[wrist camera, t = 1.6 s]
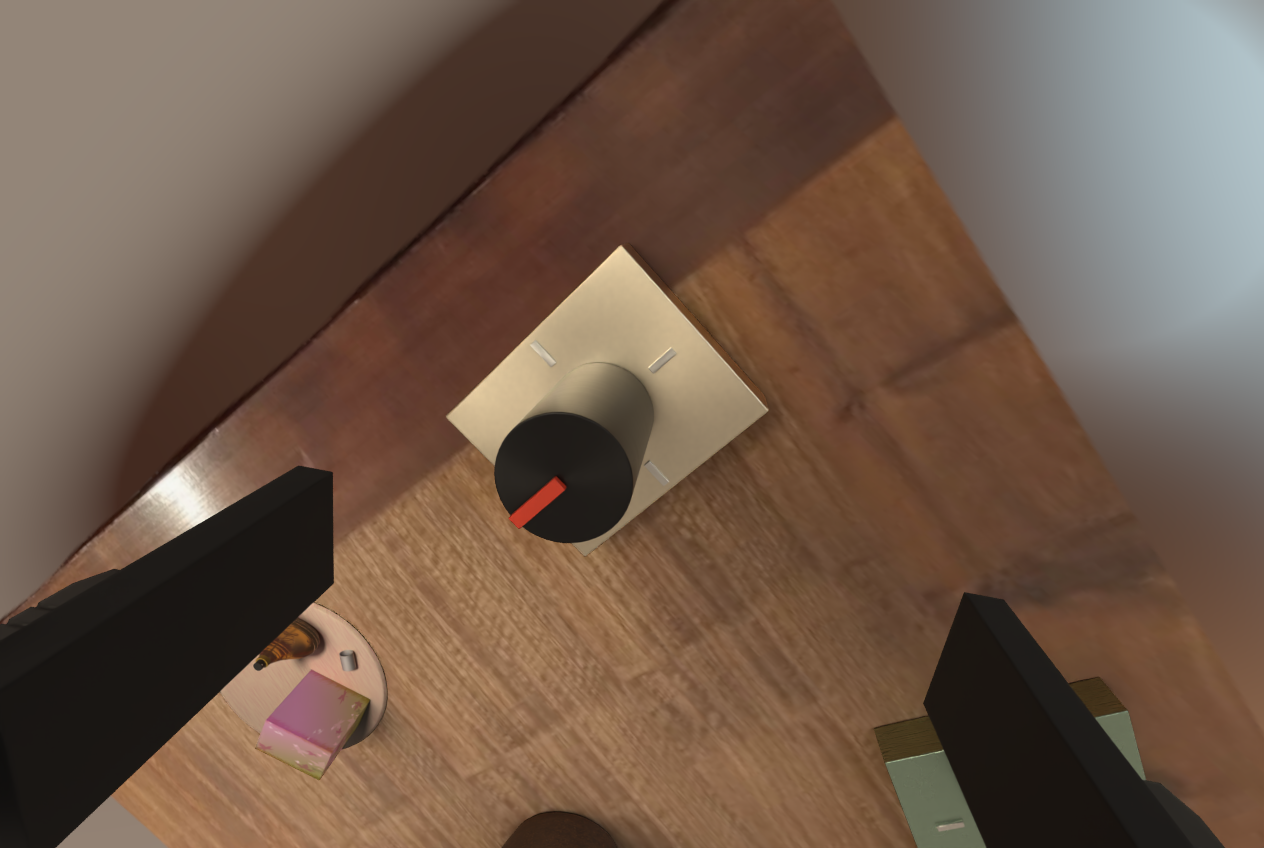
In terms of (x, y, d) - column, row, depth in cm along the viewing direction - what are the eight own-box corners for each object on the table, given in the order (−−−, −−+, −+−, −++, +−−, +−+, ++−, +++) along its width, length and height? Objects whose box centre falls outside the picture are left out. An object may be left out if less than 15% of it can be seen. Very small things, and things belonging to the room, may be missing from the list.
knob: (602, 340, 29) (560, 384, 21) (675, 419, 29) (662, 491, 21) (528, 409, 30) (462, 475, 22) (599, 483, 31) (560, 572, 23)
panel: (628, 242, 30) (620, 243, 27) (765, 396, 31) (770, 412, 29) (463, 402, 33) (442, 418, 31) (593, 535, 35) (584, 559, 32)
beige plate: (413, 652, 39) (376, 706, 34) (352, 778, 42) (312, 840, 38) (236, 562, 38) (176, 605, 34) (191, 698, 42) (133, 751, 38)
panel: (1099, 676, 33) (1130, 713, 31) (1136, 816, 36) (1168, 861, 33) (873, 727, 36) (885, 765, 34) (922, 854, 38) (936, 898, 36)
